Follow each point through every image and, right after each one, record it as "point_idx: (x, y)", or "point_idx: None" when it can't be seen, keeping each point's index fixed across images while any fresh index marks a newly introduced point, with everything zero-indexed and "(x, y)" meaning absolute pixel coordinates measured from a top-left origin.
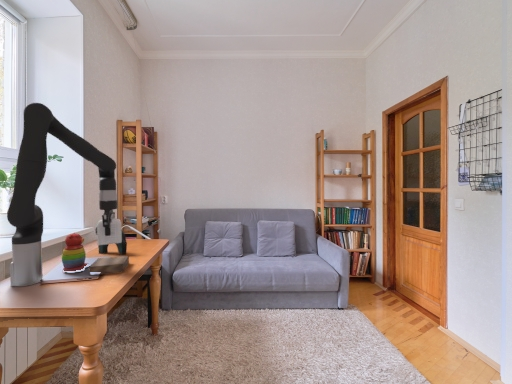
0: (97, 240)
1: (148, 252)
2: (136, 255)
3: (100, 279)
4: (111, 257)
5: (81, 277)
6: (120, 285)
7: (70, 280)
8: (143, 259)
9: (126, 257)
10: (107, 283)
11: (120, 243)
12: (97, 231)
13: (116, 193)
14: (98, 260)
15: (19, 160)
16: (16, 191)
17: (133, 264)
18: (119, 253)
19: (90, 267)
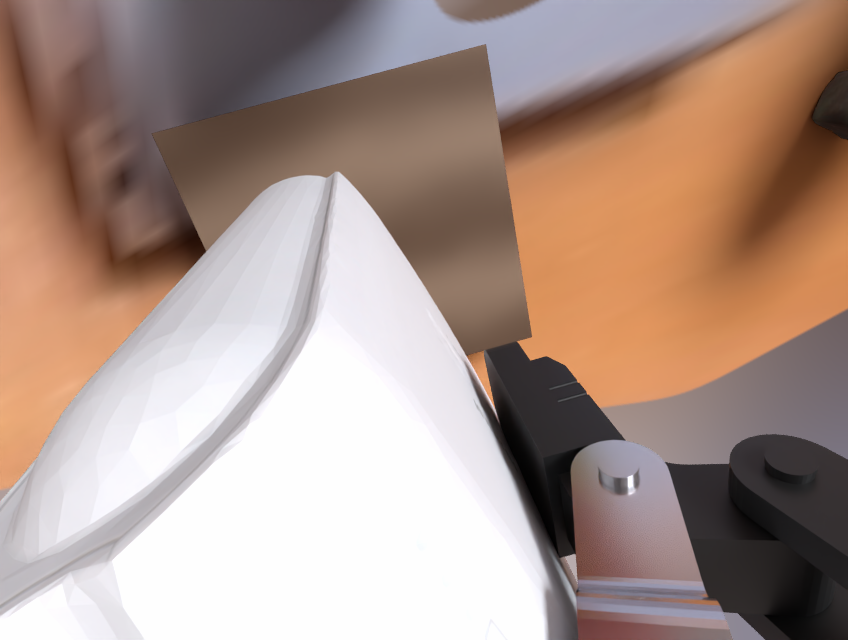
0: (245, 209)
1: (805, 326)
2: (744, 264)
3: (110, 283)
4: (499, 194)
5: (129, 76)
6: None
7: (30, 7)
8: (598, 371)
9: (476, 343)
10: (43, 377)
11: None
12: (178, 283)
13: None
14: (395, 103)
15: None
16: None
17: (475, 354)
18: (843, 82)
19: (160, 148)
